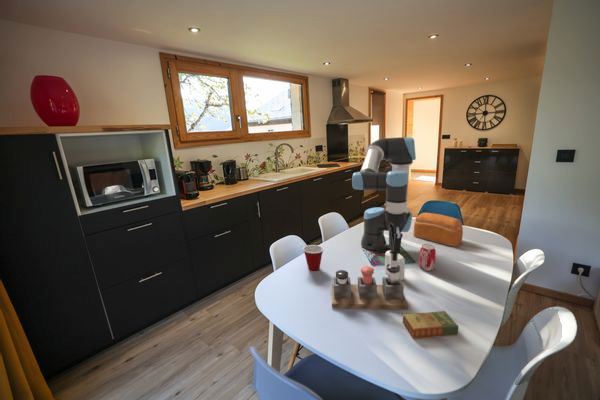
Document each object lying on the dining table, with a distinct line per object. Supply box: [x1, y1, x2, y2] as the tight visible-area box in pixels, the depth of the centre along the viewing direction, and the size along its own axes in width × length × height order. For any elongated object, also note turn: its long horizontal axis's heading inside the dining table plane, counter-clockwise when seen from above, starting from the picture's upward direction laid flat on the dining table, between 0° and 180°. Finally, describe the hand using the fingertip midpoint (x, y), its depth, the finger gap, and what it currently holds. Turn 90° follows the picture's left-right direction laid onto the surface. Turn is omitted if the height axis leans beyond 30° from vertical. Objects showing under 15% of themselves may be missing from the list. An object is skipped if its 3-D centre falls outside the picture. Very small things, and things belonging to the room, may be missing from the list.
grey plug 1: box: [335, 269, 349, 285], centre depth 113 cm, size 5×5×9 cm
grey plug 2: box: [387, 264, 400, 285], centre depth 109 cm, size 5×5×9 cm
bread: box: [412, 212, 464, 248], centre depth 165 cm, size 14×26×16 cm, turn 40°
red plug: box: [360, 265, 375, 285], centre depth 111 cm, size 5×5×9 cm
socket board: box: [331, 276, 409, 311], centre depth 112 cm, size 30×14×8 cm, turn 84°
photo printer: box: [384, 250, 406, 281], centre depth 127 cm, size 10×4×12 cm, turn 26°
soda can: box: [418, 243, 437, 272], centre depth 132 cm, size 7×7×12 cm
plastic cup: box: [302, 244, 325, 273], centre depth 138 cm, size 11×11×12 cm
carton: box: [402, 310, 459, 340], centre depth 94 cm, size 8×16×4 cm, turn 93°
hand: (393, 266), depth 108 cm, fingers closed
